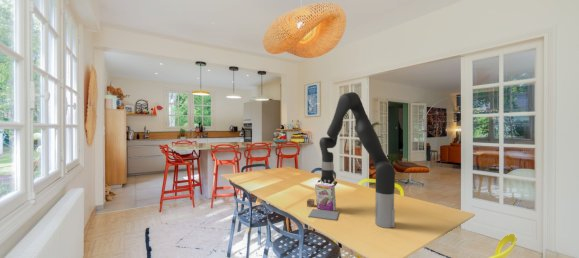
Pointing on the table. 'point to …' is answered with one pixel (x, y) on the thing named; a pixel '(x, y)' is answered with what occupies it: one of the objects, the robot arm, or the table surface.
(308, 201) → the walnut block
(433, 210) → the table surface
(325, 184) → the candy bar box
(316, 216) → the rubber mat
